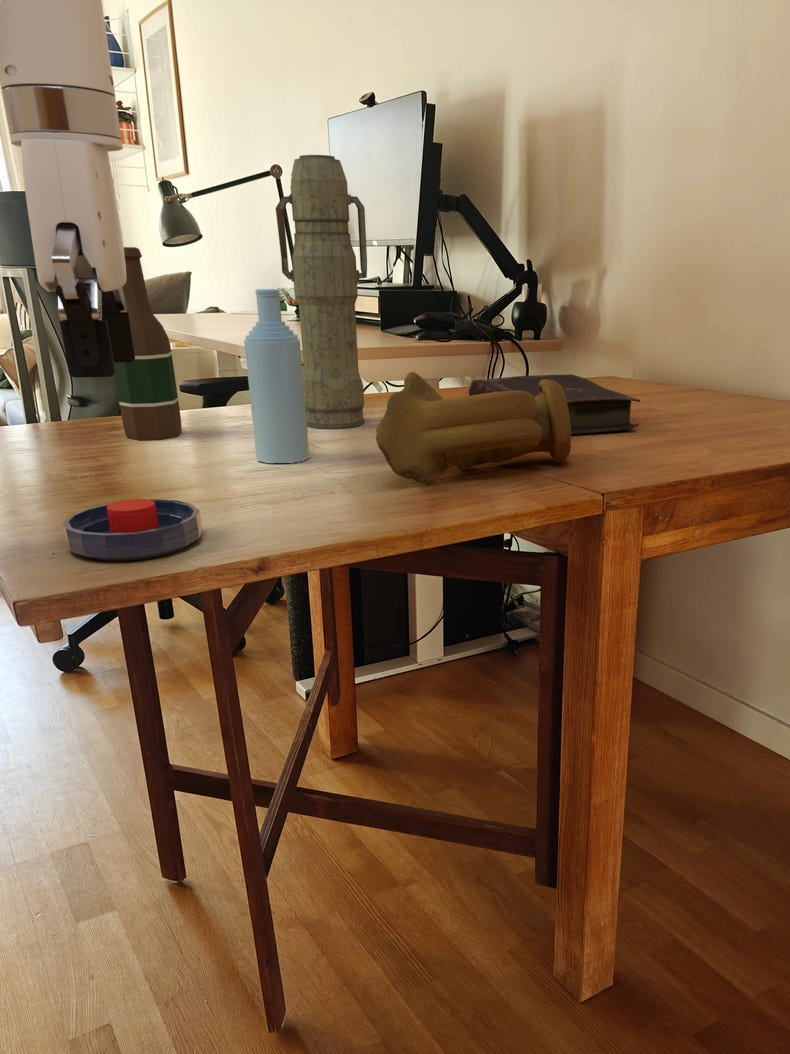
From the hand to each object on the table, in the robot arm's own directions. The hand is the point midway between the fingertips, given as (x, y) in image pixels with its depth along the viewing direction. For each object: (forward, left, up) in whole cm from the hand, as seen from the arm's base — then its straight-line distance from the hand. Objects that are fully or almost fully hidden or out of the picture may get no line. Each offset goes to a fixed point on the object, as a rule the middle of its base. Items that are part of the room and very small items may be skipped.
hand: (105, 368), depth 70 cm
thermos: (+38, +45, -15) cm, 61 cm away
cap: (0, 0, -14) cm, 14 cm away
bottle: (+23, +26, -15) cm, 38 cm away
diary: (+67, +30, -15) cm, 75 cm away
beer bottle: (+13, +50, -15) cm, 54 cm away
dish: (0, 0, -15) cm, 15 cm away
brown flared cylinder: (+40, +7, -15) cm, 43 cm away
